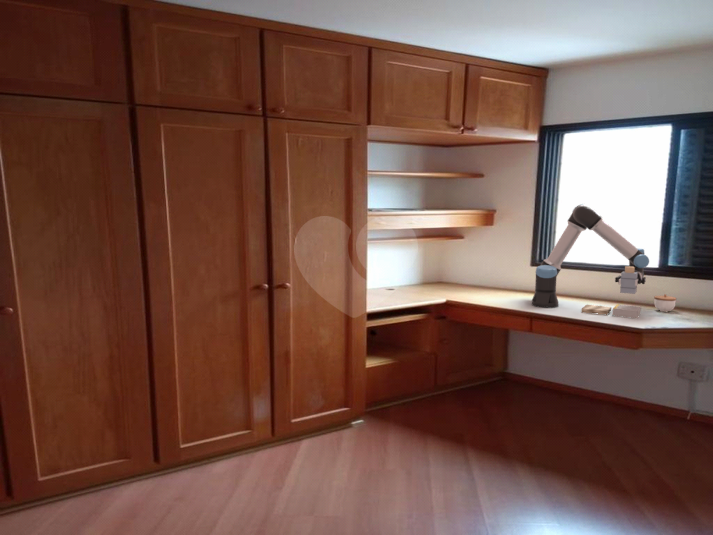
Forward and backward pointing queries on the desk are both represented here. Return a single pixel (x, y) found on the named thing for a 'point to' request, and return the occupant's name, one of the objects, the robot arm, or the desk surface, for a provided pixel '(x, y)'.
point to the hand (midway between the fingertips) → (627, 282)
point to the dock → (626, 311)
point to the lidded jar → (664, 302)
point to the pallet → (596, 309)
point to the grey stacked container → (628, 282)
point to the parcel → (629, 269)
